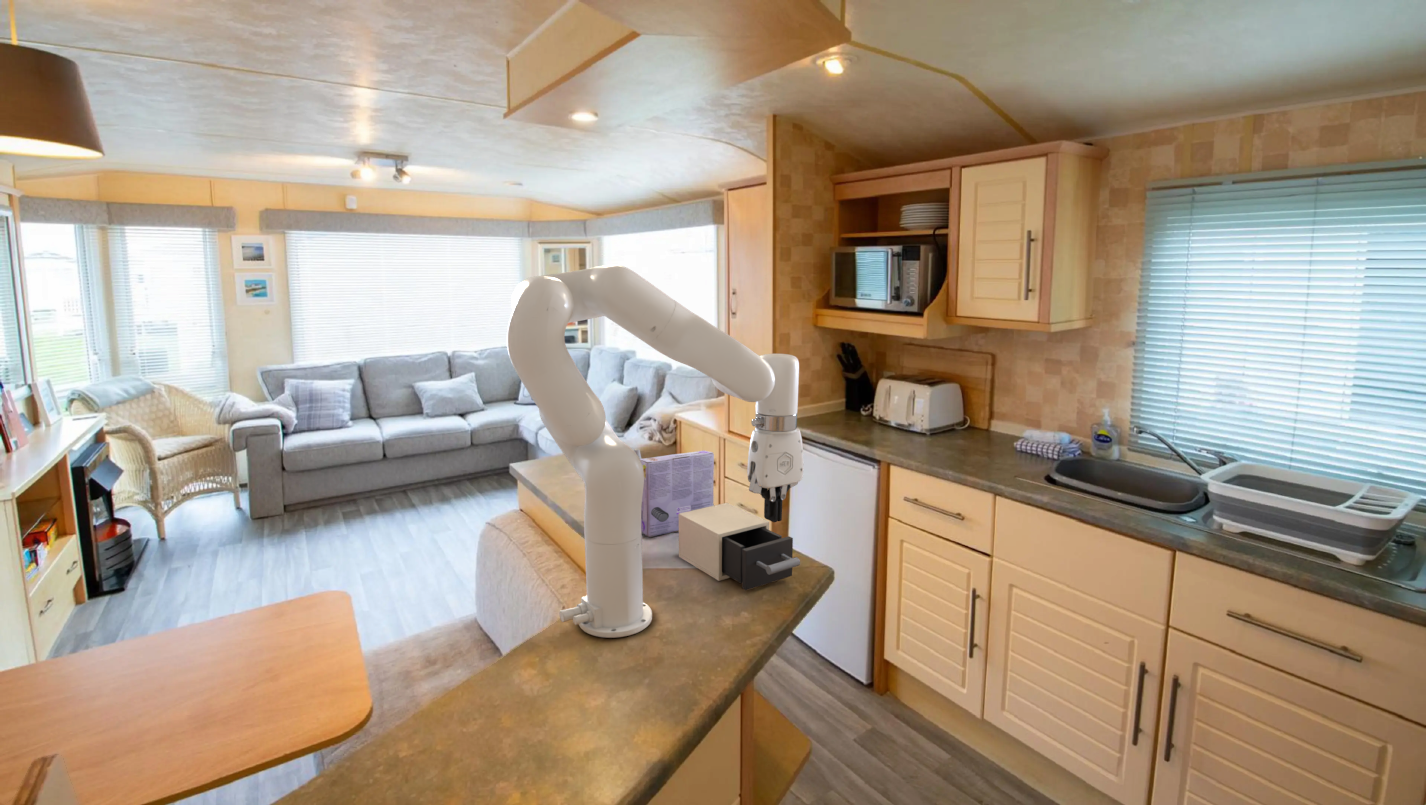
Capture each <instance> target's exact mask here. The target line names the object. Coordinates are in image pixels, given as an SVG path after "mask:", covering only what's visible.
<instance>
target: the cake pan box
mask: <svg viewBox="0 0 1426 805" xmlns="http://www.w3.org/2000/svg"><path fill="white" fill-rule="evenodd" d="M640 461H641V463H642V466H643V471H644V487H643V495H642V506H641V532H642V534H643V535H645V536H646V537H647V538H652V537H656V536H661V535H666V534H670V533H677V532H679V513H683V512H688V511H692V510H697V509H701V508H706V507H710V506H714V504H715V503H714V498H715V496H714V478H715V477H714V476H715V475H714V474H715V472H714V470H715V467H714V466H715V465H714V464H715V454H714V452H713V451H708V450H698V451H692V452H691V451H690V452H684V453H675V454H674V453H673V454H668V455H660V456H653V457H646V458H642V459H640Z"/></svg>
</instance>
